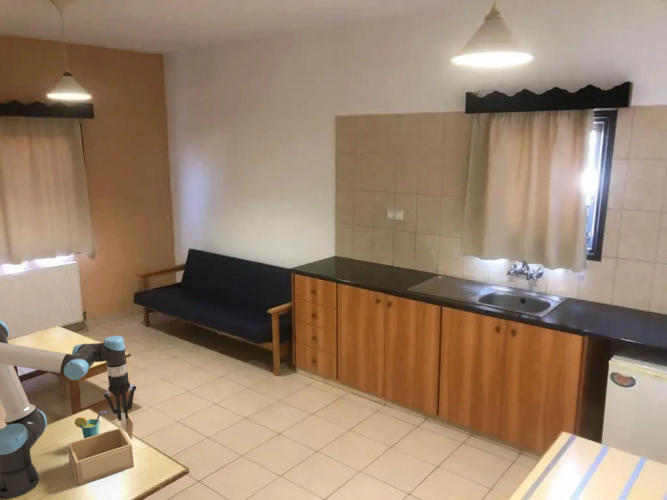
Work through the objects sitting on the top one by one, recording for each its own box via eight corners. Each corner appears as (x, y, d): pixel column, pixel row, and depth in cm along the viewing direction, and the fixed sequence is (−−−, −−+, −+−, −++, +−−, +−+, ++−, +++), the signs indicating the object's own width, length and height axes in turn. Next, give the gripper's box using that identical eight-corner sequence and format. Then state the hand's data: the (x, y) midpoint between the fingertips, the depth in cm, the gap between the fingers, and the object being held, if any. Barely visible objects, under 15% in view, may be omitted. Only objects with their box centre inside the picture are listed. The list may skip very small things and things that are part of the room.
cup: (111, 436, 244) (108, 406, 241) (112, 445, 237) (108, 414, 234) (77, 444, 239) (73, 413, 236) (77, 453, 232) (73, 421, 229)
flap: (132, 421, 219) (133, 421, 219) (123, 408, 230) (124, 408, 231) (131, 439, 220) (132, 439, 220) (122, 425, 231) (123, 425, 232)
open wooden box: (77, 487, 208) (74, 464, 206) (68, 465, 223) (66, 443, 221) (134, 467, 221) (132, 445, 219) (122, 447, 235) (120, 426, 233)
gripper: (103, 381, 213) (109, 435, 218) (136, 372, 220) (142, 425, 225) (98, 374, 219) (105, 427, 224) (131, 366, 226) (137, 417, 231)
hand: (123, 426), depth 224 cm, fingers closed
